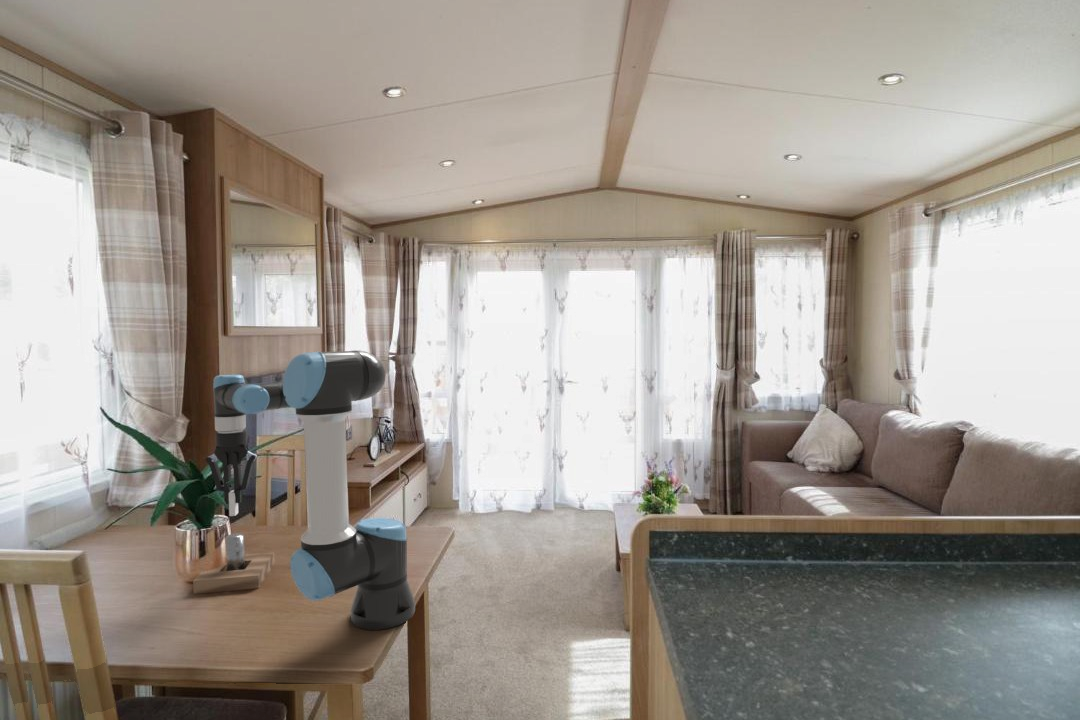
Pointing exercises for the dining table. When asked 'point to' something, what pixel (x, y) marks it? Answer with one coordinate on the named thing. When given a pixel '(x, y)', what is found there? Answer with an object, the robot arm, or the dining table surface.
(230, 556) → the grey metal peg
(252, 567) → the jig
